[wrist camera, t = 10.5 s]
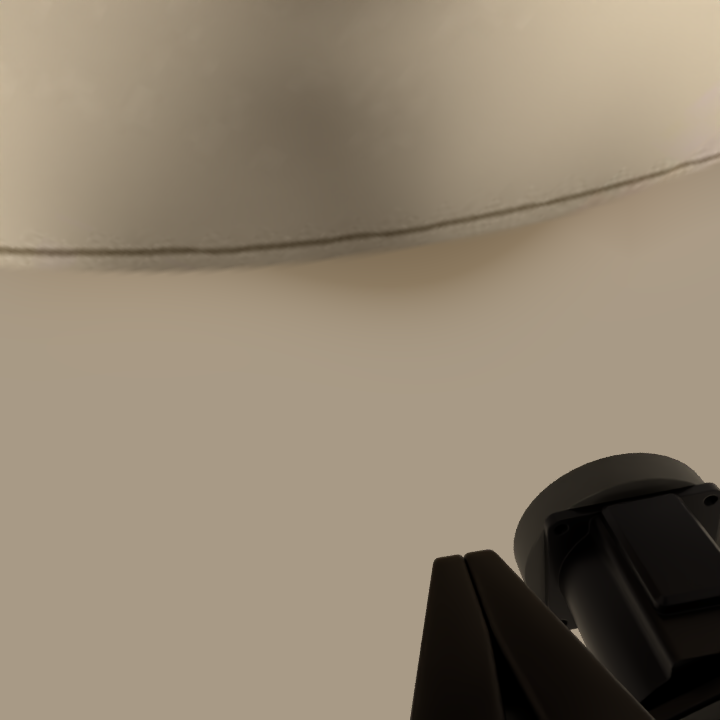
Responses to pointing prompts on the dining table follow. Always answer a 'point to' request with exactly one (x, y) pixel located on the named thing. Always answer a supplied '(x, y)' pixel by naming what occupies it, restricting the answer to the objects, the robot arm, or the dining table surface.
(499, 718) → the robot arm
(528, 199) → the dining table surface
